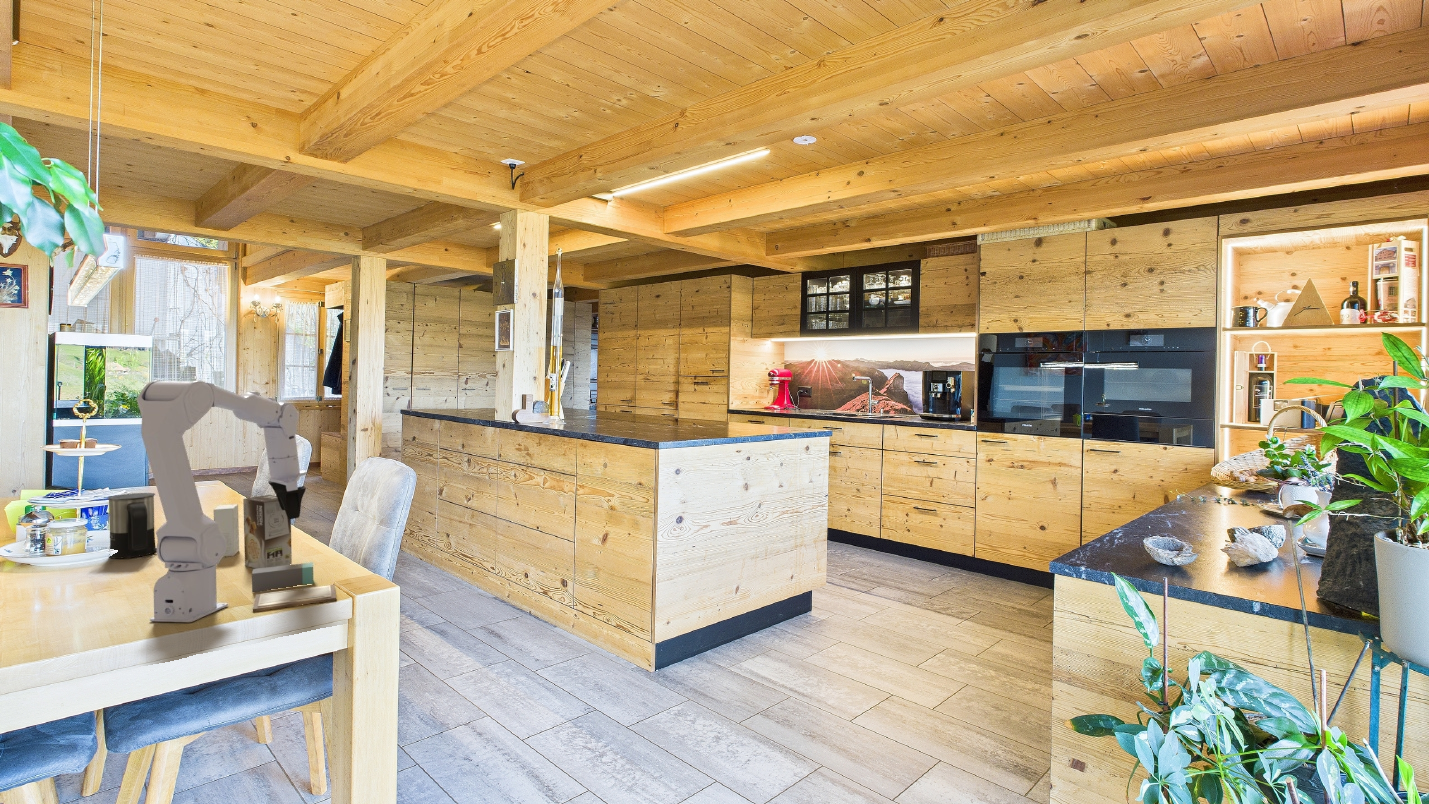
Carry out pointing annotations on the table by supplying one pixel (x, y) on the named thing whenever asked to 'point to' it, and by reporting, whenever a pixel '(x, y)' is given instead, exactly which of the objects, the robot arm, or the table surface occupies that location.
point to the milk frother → (132, 524)
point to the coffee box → (266, 533)
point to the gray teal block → (282, 576)
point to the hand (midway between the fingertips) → (290, 513)
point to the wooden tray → (294, 597)
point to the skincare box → (228, 526)
